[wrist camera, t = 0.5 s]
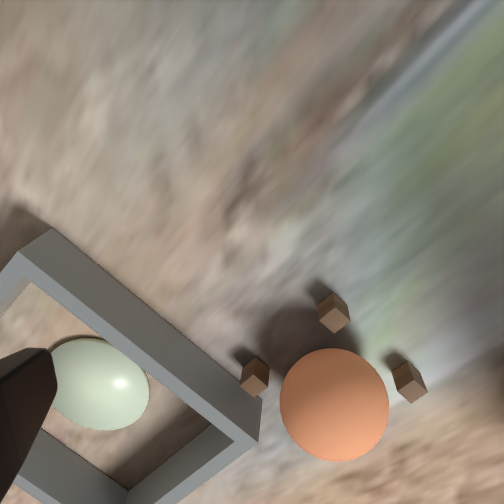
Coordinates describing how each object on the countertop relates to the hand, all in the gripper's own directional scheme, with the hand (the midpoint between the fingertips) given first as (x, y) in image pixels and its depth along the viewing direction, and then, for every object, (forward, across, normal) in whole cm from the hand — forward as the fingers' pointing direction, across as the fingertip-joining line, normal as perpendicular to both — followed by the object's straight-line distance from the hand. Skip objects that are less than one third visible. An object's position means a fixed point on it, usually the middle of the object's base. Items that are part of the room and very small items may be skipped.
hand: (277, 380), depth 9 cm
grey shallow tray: (+13, +11, +11) cm, 20 cm away
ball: (+13, -2, +9) cm, 16 cm away
